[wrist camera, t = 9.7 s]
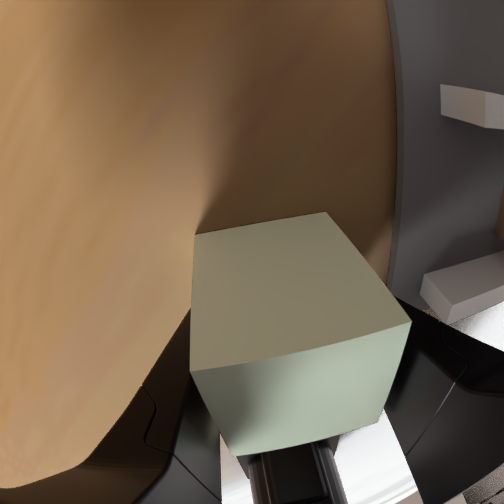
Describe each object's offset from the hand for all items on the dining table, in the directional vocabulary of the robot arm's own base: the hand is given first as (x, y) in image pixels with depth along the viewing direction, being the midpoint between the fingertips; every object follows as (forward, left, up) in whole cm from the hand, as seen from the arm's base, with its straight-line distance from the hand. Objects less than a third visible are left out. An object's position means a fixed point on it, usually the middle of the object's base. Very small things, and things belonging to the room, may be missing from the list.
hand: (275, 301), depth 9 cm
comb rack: (+6, -12, -1) cm, 13 cm away
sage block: (0, 0, -1) cm, 1 cm away
